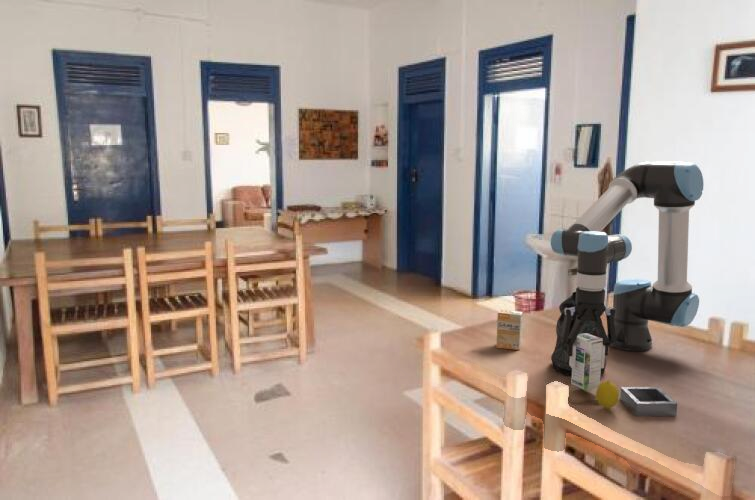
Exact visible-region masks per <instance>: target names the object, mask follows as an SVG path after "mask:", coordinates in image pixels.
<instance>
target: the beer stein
mask: <svg viewBox="0 0 755 500" xmlns="http://www.w3.org/2000/svg"><path fill="white" fill-rule="evenodd" d="M575 303H576V291H573V292H572V294H571V295H570V296H569V297H568V298H566V299H565V300H564V301H562V302H561V303H560V304H559V306H558V309H559V312H560V315H559V318H558V320H557V322H556V325H555V327H556V328H555V332H556V342H555V346H554V350H553V352H552V354H551V357H550V360H551V364H552V369H553V370H554V371H555V372H556V373H558V374H560V375H563V376H566V377H570V378H572V368H571V366H570V365H569V360H570V356H568V355H567V344H564V343H563V342H562V341H561V340H560V337H561V332H562V327H563V322H564V316H565V315H564V308H565V307H567V308H572V307H574V305H575ZM576 317H577V313H576V312H574V313H573V315H572V319H571V325H570V330H569V334H570V332H571V330H572V328H573V326H574V323H575V321H576ZM583 333H588V334H590V335H593V336H596V337H599V338H600V335H599V332H598V329H597V327H596V324H595V322H594V321H585V323H584V324H583V325H582V327H581V329H580V331H579V334H583ZM568 336H569V335H568ZM606 366H607V359H606V358H605V359H604V368H601V376H600V377H602V376H603V374H605V371H606Z"/></svg>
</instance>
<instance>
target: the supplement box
mask: <svg viewBox="0 0 755 500" xmlns="http://www.w3.org/2000/svg"><path fill="white" fill-rule="evenodd" d="M523 314H524V313H523V311H517V310H507V309H499V310H497V320H496V322H497V324H496V344H495V345H496V348H498V349H506V350H508V349H509V350H516V351H520V349H521V347H522V338H523V337H522V335H523V334H522V333H523V331H522V330H523Z"/></svg>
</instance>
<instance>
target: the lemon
mask: <svg viewBox="0 0 755 500" xmlns="http://www.w3.org/2000/svg"><path fill="white" fill-rule="evenodd" d="M596 398H597V401H598V403H599V404H598V405H600V406H601V407H603V408H604V409H605V410H608V409H612V408H614V407H615V406H616V405H617V404H618V401H619V398H620V395H619V390H618V387H617V385H615V384H614V383H612V382H611V381H610V380H606V381H603V382H600V385H599V386H598V388H597V392H596Z"/></svg>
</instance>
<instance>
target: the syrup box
mask: <svg viewBox="0 0 755 500" xmlns="http://www.w3.org/2000/svg"><path fill="white" fill-rule="evenodd" d="M602 341H603V338H599V337H596V336H593V335H590V334H588V333H583V334H578V336H577V338H576V340H575V342H574V345H575V346H576V360H575V369H572V377H570V378H571V379H570V380H571V382H570V384H573V385H576V386H578V387H580V388H582V389H584V390H586V391H587V390H590V389H593V388H596V387H598V386H599V385H600V384H601V377H602V376H601V358H602Z"/></svg>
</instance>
